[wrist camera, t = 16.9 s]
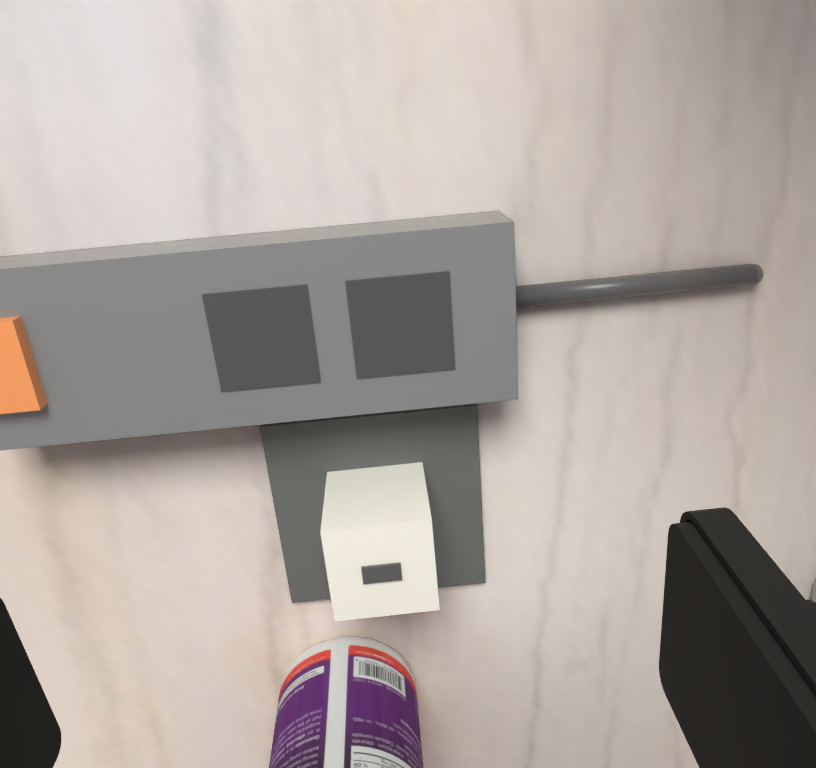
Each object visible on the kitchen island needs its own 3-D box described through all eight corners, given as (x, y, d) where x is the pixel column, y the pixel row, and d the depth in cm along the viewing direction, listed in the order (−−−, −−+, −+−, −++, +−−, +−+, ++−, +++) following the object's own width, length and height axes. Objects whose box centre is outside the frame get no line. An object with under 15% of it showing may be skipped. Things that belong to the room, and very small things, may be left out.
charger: (422, 462, 35) (432, 522, 30) (429, 542, 37) (439, 612, 32) (326, 472, 35) (319, 534, 30) (339, 552, 37) (334, 623, 32)
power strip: (765, 186, 31) (821, 195, 27) (747, 348, 34) (795, 378, 30) (-27, 259, 30) (-85, 280, 27) (25, 419, 33) (-21, 458, 30)
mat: (475, 402, 35) (476, 405, 34) (484, 578, 39) (485, 582, 38) (261, 423, 34) (260, 426, 34) (292, 597, 38) (291, 602, 38)
